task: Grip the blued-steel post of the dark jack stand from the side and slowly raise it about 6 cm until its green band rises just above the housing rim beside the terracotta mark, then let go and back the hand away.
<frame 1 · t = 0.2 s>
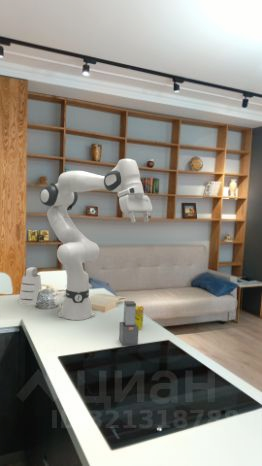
hand: (140, 222, 159), 52 cm above the worktop, tool tilted 20°, fingers open, 8 cm apart
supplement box: (135, 330, 169), on the worktop
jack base: (128, 345, 150), on the worktop
grater: (30, 302, 207), on the worktop
jack column: (129, 322, 149), point 10 cm above the worktop, slide at 0.0 cm
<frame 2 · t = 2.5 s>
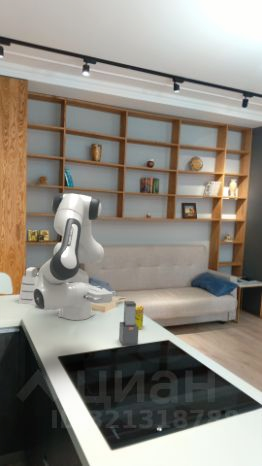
hand: (108, 290, 141), 25 cm above the worktop, tool horizontal, fingers open, 8 cm apart
nothing on the worktop moved.
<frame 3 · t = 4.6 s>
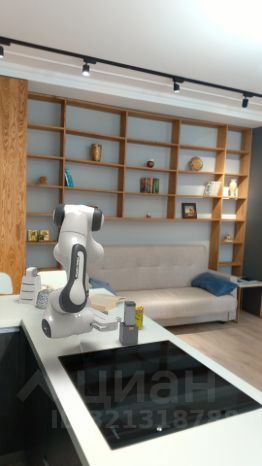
hand: (113, 315, 144), 14 cm above the worktop, tool horizontal, fingers open, 8 cm apart
nothing on the worktop moved.
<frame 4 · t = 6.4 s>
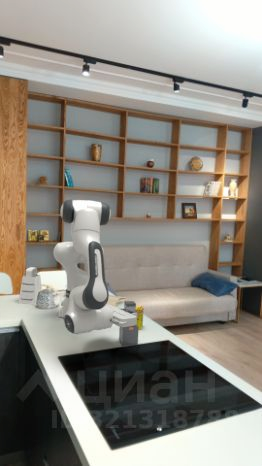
hand: (131, 312, 149), 14 cm above the worktop, tool horizontal, fingers closed on jack column, 5 cm apart
jack column: (129, 322, 149), point 10 cm above the worktop, slide at 0.0 cm, touching gripper
everything else where it was.
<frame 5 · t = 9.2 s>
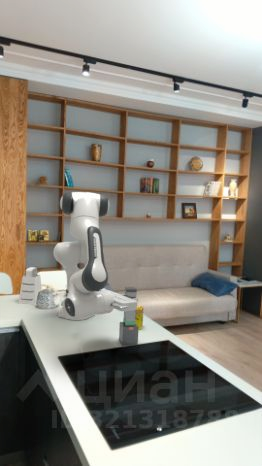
hand: (132, 298, 149), 20 cm above the worktop, tool horizontal, fingers closed on jack column, 5 cm apart
jack column: (129, 308, 149), point 16 cm above the worktop, slide at 6.0 cm, touching gripper
everything else where it was.
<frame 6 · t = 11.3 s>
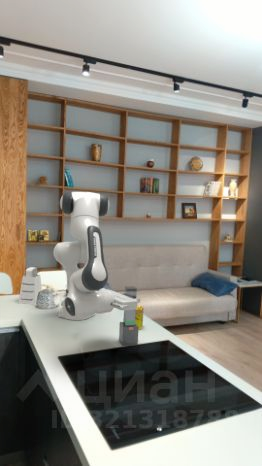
hand: (132, 297, 149), 20 cm above the worktop, tool horizontal, fingers open, 8 cm apart
jack column: (129, 307, 148), point 16 cm above the worktop, slide at 6.3 cm
everything else where it was.
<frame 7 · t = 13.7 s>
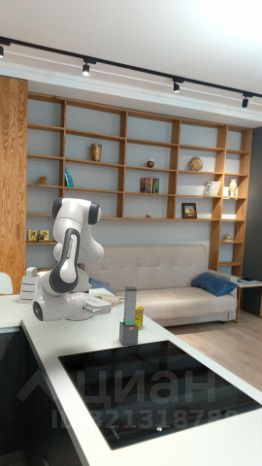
hand: (107, 300, 141), 21 cm above the worktop, tool horizontal, fingers open, 8 cm apart
nothing on the worktop moved.
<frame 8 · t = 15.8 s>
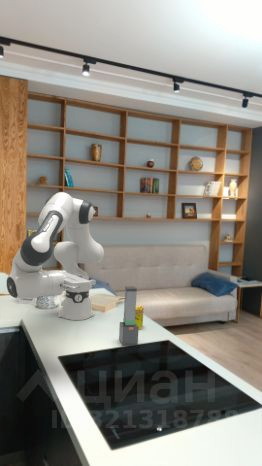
hand: (88, 279, 134), 30 cm above the worktop, tool horizontal, fingers open, 8 cm apart
nothing on the worktop moved.
at the end: jack column slide at 6.3 cm; the gripper is holding nothing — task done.
